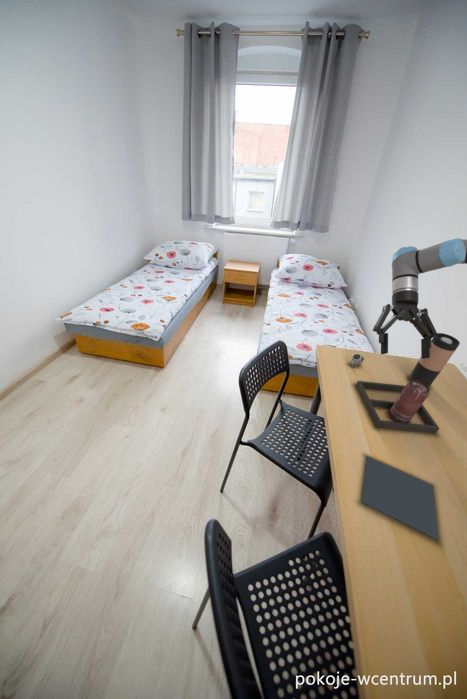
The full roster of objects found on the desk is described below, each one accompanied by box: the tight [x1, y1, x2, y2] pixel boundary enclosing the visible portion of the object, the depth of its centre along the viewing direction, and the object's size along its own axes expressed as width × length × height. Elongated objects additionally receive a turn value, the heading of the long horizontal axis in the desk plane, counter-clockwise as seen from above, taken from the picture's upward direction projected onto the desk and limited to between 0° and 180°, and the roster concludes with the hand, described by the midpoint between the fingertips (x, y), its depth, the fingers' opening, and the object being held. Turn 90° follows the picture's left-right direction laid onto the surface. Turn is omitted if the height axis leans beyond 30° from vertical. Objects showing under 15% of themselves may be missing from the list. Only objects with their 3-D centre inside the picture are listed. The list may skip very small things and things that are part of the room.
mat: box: [361, 455, 439, 542], centre depth 68 cm, size 16×14×1 cm
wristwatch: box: [349, 353, 365, 367], centre depth 109 cm, size 4×6×5 cm, turn 118°
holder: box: [355, 380, 441, 435], centre depth 92 cm, size 19×19×2 cm
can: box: [388, 380, 431, 423], centre depth 85 cm, size 6×6×14 cm
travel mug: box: [408, 332, 461, 387], centre depth 100 cm, size 8×8×20 cm
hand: (404, 356), depth 89 cm, fingers open, 13 cm apart
